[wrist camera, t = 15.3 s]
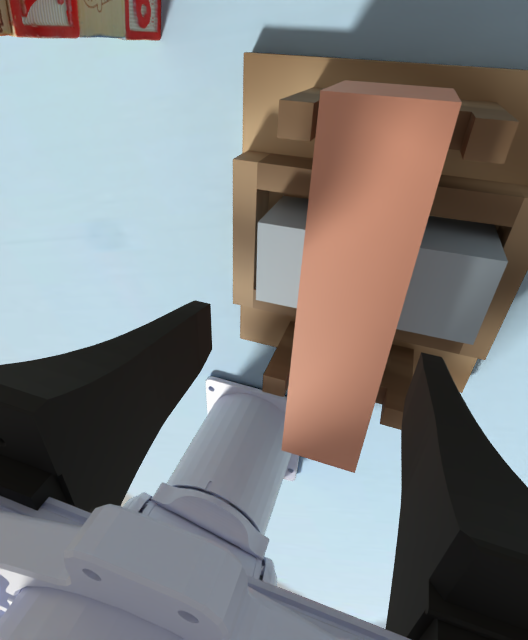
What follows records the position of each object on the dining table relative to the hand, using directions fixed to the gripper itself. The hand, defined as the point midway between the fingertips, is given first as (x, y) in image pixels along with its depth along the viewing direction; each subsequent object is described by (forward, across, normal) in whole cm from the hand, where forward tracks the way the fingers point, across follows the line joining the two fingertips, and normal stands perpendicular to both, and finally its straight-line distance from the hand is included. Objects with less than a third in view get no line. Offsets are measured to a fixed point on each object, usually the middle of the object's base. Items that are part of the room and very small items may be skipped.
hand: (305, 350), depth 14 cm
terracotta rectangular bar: (+5, -1, 0) cm, 5 cm away
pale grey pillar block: (+9, -1, 0) cm, 9 cm away
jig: (+10, -1, 0) cm, 10 cm away
